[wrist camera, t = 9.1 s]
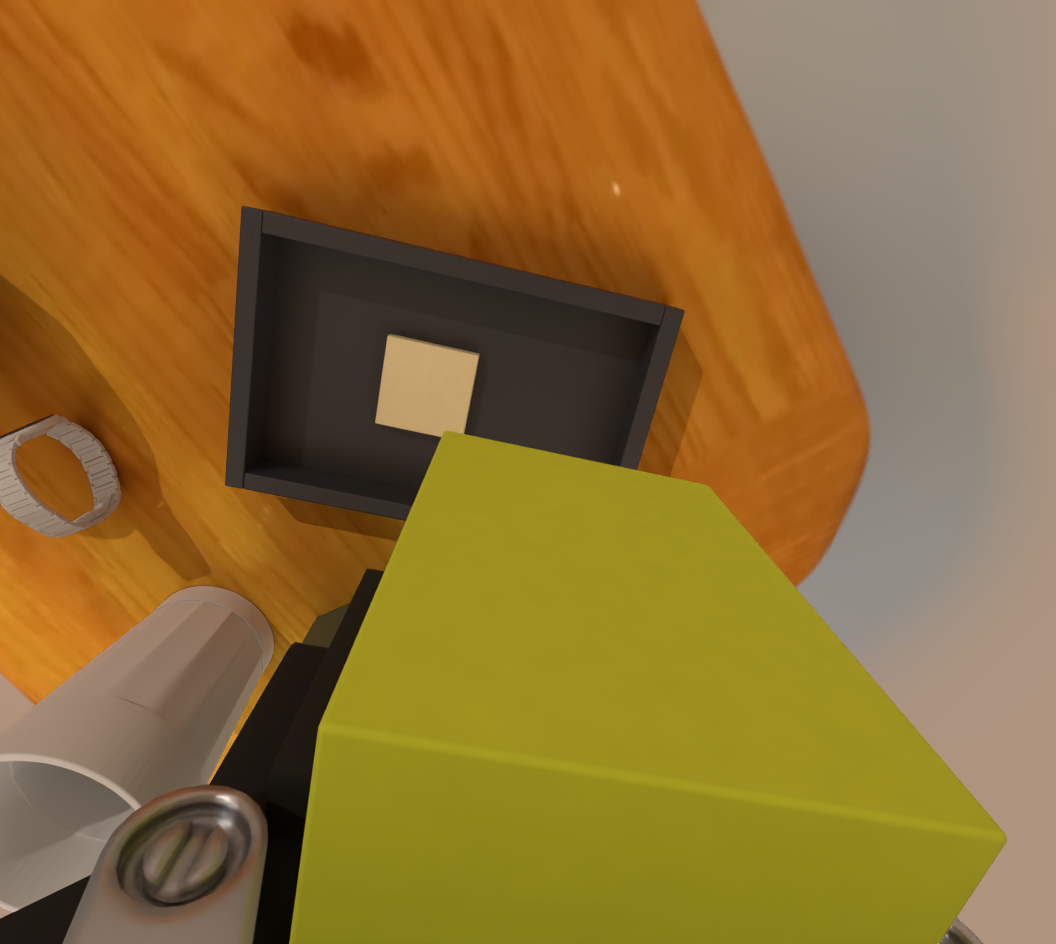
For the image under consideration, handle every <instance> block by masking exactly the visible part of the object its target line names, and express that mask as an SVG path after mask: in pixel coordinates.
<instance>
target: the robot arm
mask: <svg viewBox="0 0 1056 944" xmlns="http://www.w3.org/2000/svg"><path fill="white" fill-rule="evenodd" d="M383 574H384V571H379V570H373V569H367V570H366V572H365V574H364V576H363V578H362V580H361V582H360V584H359V586H358V588H357V590H356V592H355V595H354V597H353V599H352V601H351V603H350V605H349V607H348V609H347V611H346V613H345V615H344V617H343V619H342V621H341V624H340V626H339V628H338V630H337V632H336V634H335V636H334V638H333V640H332V642H331V644H330V646H329V648H326V647H320V646H314V645H309V644H303V643H297V642H295V643H294V644H292V645H291V647H290V648H289V649H288V651H287V652H286V654H285V656H284V658H283V659H282V661H281V663H280V664H279V666H278V668H277V670H276V671H275V673H274V675H273V676H272V678H271V680H270V682H269V683H268V685H267V687H266V688H265V690H264V692H263V693H262V695H261V697H260V699H259V700H258V702H257V704H256V705H255V707H254V709H253V711H252V712H251V714H250V716H249V717H248V719H247V721H246V723H245V724H244V726H243V728H242V729H241V731H240V733H239V735H238V736H237V738H236V740H235V741H234V743H233V745H232V747H231V748H230V750H229V752H228V753H227V755H226V757H225V758H224V760H223V762H222V764H221V765H220V767H219V769H218V770H217V772H216V774H215V776H214V777H213V779H212V781H211V782H210V784H209V785H198V786H192V787H186V788H180V789H178V790H175V791H172V792H170V793H167V794H164V795H162V796H159V797H156V798H155V799H153V800H152V801H150V802H148V803H147V804H145V805H144V806H142V807H140V808H139V809H137V810H136V811H134V812H133V813H132V814H131V815H130V816H129V817H128V818H127V819H126V820H125V821H124V822H123V823H121V824H120V825H119V826H118V827H117V828H116V829H115V830H114V831H113V833H112V835H111V836H110V838H109V840H108V841H107V843H106V845H105V846H104V848H103V850H102V851H101V853H100V855H99V857H98V860H97V862H96V865H95V867H94V869H93V872H92V874H91V875H89V876H87V877H85V878H83V879H81V880H79V881H77V882H75V883H73V884H71V885H69V886H66V887H64V888H62V889H60V890H58V891H56V892H54V893H52V894H50V895H48V896H46V897H44V898H42V899H40V900H38V901H36V902H33V903H31V904H29V905H27V906H25V907H23V908H21V909H19V910H17V911H15V912H13V913H11V914H9V915H7V916H5V917H3V918H1V919H0V944H289V941H290V934H291V926H292V919H293V912H294V904H295V897H296V889H297V882H298V874H299V867H300V860H301V852H302V845H303V837H304V830H305V822H306V815H307V808H308V800H309V793H310V785H311V778H312V770H313V763H314V756H315V748H316V741H317V733H318V727H319V724H320V722H321V720H322V717H323V715H324V712H325V710H326V708H327V705H328V703H329V701H330V698H331V696H332V694H333V691H334V689H335V687H336V684H337V682H338V680H339V677H340V675H341V673H342V670H343V668H344V665H345V663H346V661H347V658H348V656H349V654H350V651H351V649H352V647H353V644H354V642H355V640H356V637H357V635H358V633H359V630H360V628H361V625H362V623H363V621H364V618H365V616H366V614H367V611H368V609H369V607H370V604H371V602H372V600H373V597H374V595H375V593H376V590H377V588H378V586H379V583H380V581H381V578H382V576H383ZM939 944H983V943H982V942H981V941H980V939H979V938H978V937H977V936H976V935H975V934H974V933H973V932H972V931H971V930H970V929H969V928H968V927H966V926H965V924H963V923H962V922H961V921H960V920H959V919H958V918H957V917H956V919H955V920H954V922H953V923H952V925H951V926H950V928H949V929H948V931H947V932H946V934H945V935H944V937H943V938H942V940H941V941H940V943H939Z"/></svg>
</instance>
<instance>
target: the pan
mask: <svg viewBox="0 0 1056 944" xmlns="http://www.w3.org/2000/svg"><path fill="white" fill-rule="evenodd" d="M683 315H684V310H682V309H679V308H676V307H672V306H669V305H665V304H661V303H656V302H652V301H648V300H644V299H640V298H635V297H631V296H627V295H623V294H618V293H614V292H610V291H606V290H601V289H597V288H593V287H589V286H585V285H580V284H576V283H572V282H568V281H563V280H559V279H555V278H551V277H546V276H542V275H538V274H534V273H530V272H525V271H521V270H517V269H513V268H508V267H504V266H500V265H496V264H491V263H487V262H483V261H479V260H475V259H470V258H466V257H462V256H458V255H453V254H449V253H445V252H441V251H436V250H432V249H428V248H424V247H420V246H415V245H411V244H407V243H403V242H398V241H394V240H390V239H386V238H381V237H377V236H373V235H369V234H365V233H360V232H356V231H352V230H348V229H343V228H339V227H335V226H331V225H327V224H322V223H318V222H314V221H310V220H305V219H301V218H297V217H293V216H288V215H284V214H280V213H276V212H272V211H267V210H262V209H256V208H251V207H246V206H242V210H241V226H240V243H239V260H238V277H237V294H236V311H235V328H234V345H233V362H232V379H231V396H230V413H229V430H228V447H227V464H226V480H225V485H226V486H231V487H236V488H242V489H243V488H244V489H247V490H252V491H258V492H263V493H268V494H273V495H278V496H283V497H288V498H293V499H298V500H303V501H308V502H313V503H318V504H323V505H329V506H334V507H339V508H344V509H349V510H354V511H359V512H364V513H369V514H374V515H379V516H384V517H389V518H394V519H400V520H405V521H406V520H407V517H408V515H409V513H410V510H411V508H412V506H413V503H414V501H415V499H416V496H417V494H418V491H419V489H420V487H421V484H422V482H423V480H424V477H425V475H426V473H427V470H428V468H429V466H430V463H431V461H432V459H433V456H434V454H435V452H436V449H437V447H438V444H439V442H440V440H441V437H439V436H434V435H429V434H424V433H420V432H415V431H410V430H405V429H400V428H396V427H391V426H386V425H381V424H377V423H375V420H376V413H377V406H378V399H379V392H380V385H381V378H382V371H383V364H384V357H385V350H386V343H387V336H388V335H390V334H394V335H398V336H403V337H407V338H412V339H416V340H421V341H425V342H430V343H434V344H439V345H443V346H448V347H452V348H457V349H461V350H466V351H470V352H474V353H479V354H480V356H479V361H478V366H477V371H476V376H475V381H474V386H473V391H472V397H471V402H470V407H469V412H468V417H467V422H466V427H465V432H464V434H466V435H471V436H475V437H480V438H485V439H490V440H495V441H499V442H504V443H509V444H514V445H518V446H523V447H528V448H533V449H538V450H542V451H547V452H552V453H557V454H561V455H566V456H571V457H576V458H581V459H585V460H590V461H595V462H600V463H604V464H609V465H614V466H619V467H624V468H628V469H633V470H637V467H638V464H639V461H640V457H641V454H642V451H643V448H644V444H645V441H646V438H647V434H648V431H649V428H650V424H651V421H652V418H653V414H654V411H655V408H656V405H657V401H658V398H659V395H660V391H661V388H662V385H663V381H664V378H665V375H666V371H667V368H668V365H669V361H670V358H671V355H672V352H673V348H674V345H675V342H676V338H677V335H678V332H679V328H680V325H681V322H682V318H683Z"/></svg>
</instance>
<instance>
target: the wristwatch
mask: <svg viewBox="0 0 1056 944" xmlns="http://www.w3.org/2000/svg"><path fill="white" fill-rule="evenodd" d="M45 433H46V435H47V436H49V437H52V438H54V439H56V440H59V441H60V442H61V443H62V444H64V445H65V446H66V447H68V448H71V451H72V452H73V453H74V454H75V455H76V456H77V458H78V459H82V460H80V462H81V464H82V465H83V467H84V469H85V471H86V472H89V473H87V476H88V478H89V481H90V484H91V485H92V486H91V489H92V493H93V497H94V498H95V499H94V503H93V510H92V511H90V512H87V513H85V514H83V515H82V516H80V517H79V518H77V519H76V520H74V521H70V520H69V521H68V519H67V518H65V517H63V516H62V515H60V514H59V513H57V512H56V513H55V511H54V510H53V509H51V508H49V507H48V506H46V505H45V504H41V501H40V500H39V499H38V498H37V497H36V496H35V495H34V494H33V493H32V492H29V491H30V489H29V488H28V486H27V485H26V483H25V482H24V480H23V479H22V478H20V477H21V475H20V473H19V470H18V468H17V465H16V464H14V463H16V449H17V447H18V446H21V445H22V444H23V443H24V442H26V441H28V440H30V439H33V438H35V437H37V436H39V435H41V434H45ZM94 438H95V437H94V435H93V434H91V433H90V432H89V431H87V430H86V429H83V428H82V427H81V426H79V425H77V424H75V423H73V422H70V421H68V420H67V419H66V418H65V417H63V416H59V415H54V414H53V415H50V416H48V417H45V418H43V419H40V420H38V421H35V422H33V423H30V424H28V425H26V426H23V427H21V428H19V429H16V430H14V431H12V432H9V433H7V434H5V435H3V436H0V503H1V502H3V503H1V506H2V507H3V508H4V509H5V510H6V511H7V512H8V513H9V514H10V515H13V517H14V518H15V519H17V520H19V521H20V522H22V523H24V524H28V526H29V527H30V528H32V529H34V530H35V531H37V532H40V533H41V532H42V534H43V535H45V536H49V537H53V538H54V537H59V538H60V537H65V536H68V535H70V534H73V533H76V532H78V531H81V530H84V529H86V528H89V527H92V526H94V525H96V524H98V523H100V522H102V521H104V520H105V519H106V518H107V517H109V516H110V515H111V514H112V511H115V510H116V509H117V507H118V506H119V501H120V500H121V490H119V489H120V483H119V479H118V477H115V476H117V471H116V469H115V466H114V464H110V463H112V459H111V457H110V456H109V454H108V452H107V451H106V450H105V448H104V446H103V445H102V444H101V442H100V441H99V440H98V439H97V438H95V439H94ZM94 449H95V450H94ZM103 450H105V451H103ZM89 451H90V452H89ZM84 453H85V454H84ZM102 455H103V456H102ZM100 456H101V457H100ZM97 457H99V458H97ZM95 458H96V459H95ZM92 459H94V460H92ZM90 460H91V461H90ZM105 460H106V461H105ZM87 461H88V462H87ZM100 462H101V463H100ZM95 464H96V465H95ZM90 466H91V467H90ZM104 470H105V471H104ZM99 472H100V473H99ZM94 474H95V475H94ZM1 490H2V491H1Z"/></svg>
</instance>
